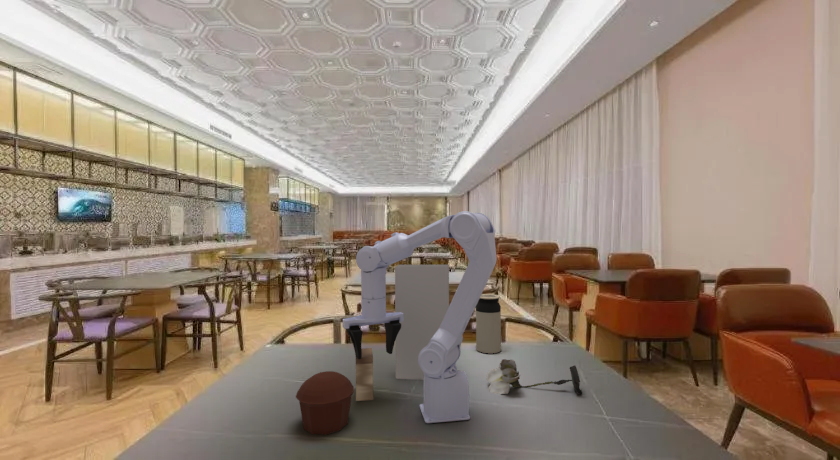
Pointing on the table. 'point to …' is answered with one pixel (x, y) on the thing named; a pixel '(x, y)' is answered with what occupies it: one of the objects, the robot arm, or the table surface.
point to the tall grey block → (418, 312)
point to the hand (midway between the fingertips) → (374, 355)
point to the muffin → (325, 402)
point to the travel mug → (488, 324)
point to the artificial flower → (509, 376)
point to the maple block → (364, 375)
